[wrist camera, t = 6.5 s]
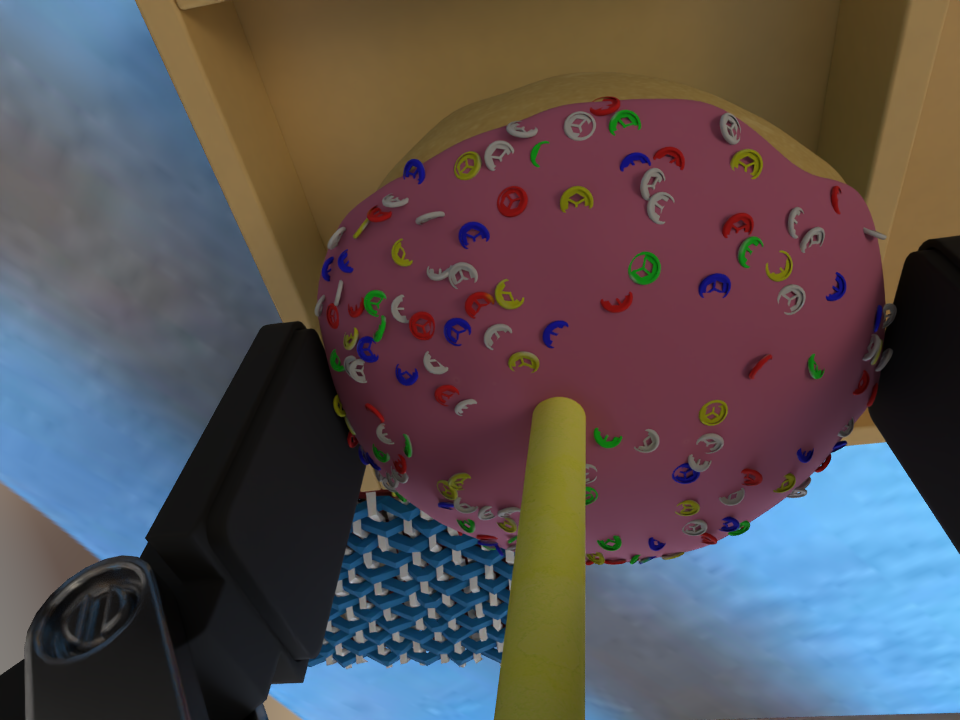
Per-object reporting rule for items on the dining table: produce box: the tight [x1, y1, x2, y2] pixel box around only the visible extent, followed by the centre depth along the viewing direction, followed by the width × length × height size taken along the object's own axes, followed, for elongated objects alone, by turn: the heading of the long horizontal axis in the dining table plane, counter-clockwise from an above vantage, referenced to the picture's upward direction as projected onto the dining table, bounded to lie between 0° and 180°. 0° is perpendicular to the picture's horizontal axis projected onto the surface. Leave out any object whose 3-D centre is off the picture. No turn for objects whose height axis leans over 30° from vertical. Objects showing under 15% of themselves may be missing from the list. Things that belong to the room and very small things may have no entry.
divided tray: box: [135, 0, 960, 492], centre depth 12 cm, size 23×12×3 cm, turn 100°
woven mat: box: [308, 487, 515, 669], centre depth 21 cm, size 10×11×2 cm
